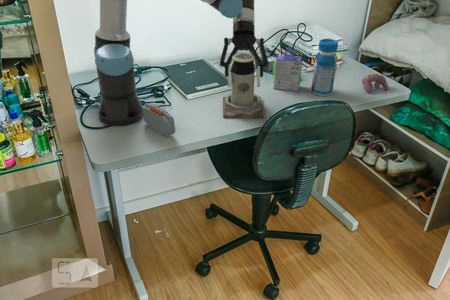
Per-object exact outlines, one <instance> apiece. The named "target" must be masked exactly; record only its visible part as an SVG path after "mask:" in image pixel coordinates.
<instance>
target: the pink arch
mask: <svg viewBox="0 0 450 300" xmlns="http://www.w3.org/2000/svg"><path fill="white" fill-rule="evenodd" d="M361 83H362V86H363V89H364V91H365V93H367V94H370V93H371V90H373V88H374V89H379V88H380V87H381V86H382V88H383V89H384V90H385V91H388V90H389V84H388V82H387V80H386V78H385V76H384V75H383V74H379V73H371V74H368V75H366V76H364V77H363V78H362V79H361Z"/></svg>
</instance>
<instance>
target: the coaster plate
mask: <svg viewBox="0 0 450 300" xmlns="http://www.w3.org/2000/svg"><path fill="white" fill-rule="evenodd" d="M225 118H226V119H228V118H229V119H233V118H234V119H239V118H241V119H264V118H265V113H264V108H263V101H262V97H261V96H260V95H258V94H255V93H254V103H253V105H252V106H235V105H233V104H231V93H229V94H226V95H225V96H222V119H225Z"/></svg>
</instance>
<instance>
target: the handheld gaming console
mask: <svg viewBox="0 0 450 300" xmlns="http://www.w3.org/2000/svg"><path fill="white" fill-rule="evenodd" d="M144 105H145V106H144V107H143V117H142V118H143V120H144V122H145V124H147V126H148V128H149V129H150V130H152V131H154V132H156V133H157V134H158V135H161V136H167V137H169V136H172V135H175V133H176V127H175V126H176V125H175V118H174V117H173V115H171V114H170V113H169V112H168V111H167V110H164V109H163V108H161V107H160V106H158V105H156V104H150V103H146V104H144Z"/></svg>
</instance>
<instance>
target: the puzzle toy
mask: <svg viewBox="0 0 450 300" xmlns="http://www.w3.org/2000/svg"><path fill="white" fill-rule="evenodd" d="M275 63H276V59H275V58H274V59H273V64H272V65H273V67H272V74H273V77H274V76H275Z"/></svg>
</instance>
